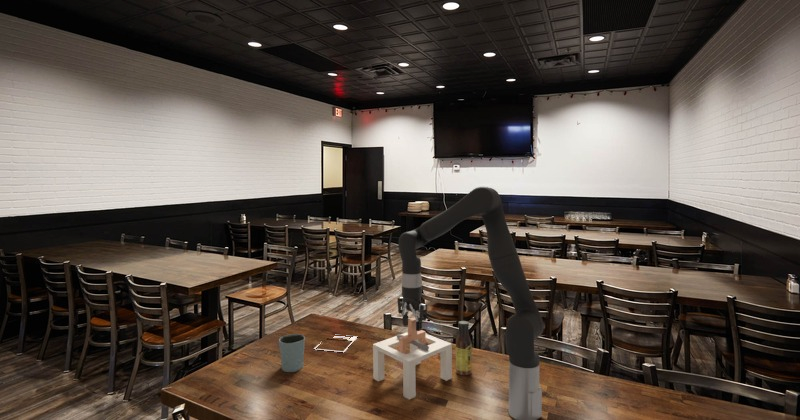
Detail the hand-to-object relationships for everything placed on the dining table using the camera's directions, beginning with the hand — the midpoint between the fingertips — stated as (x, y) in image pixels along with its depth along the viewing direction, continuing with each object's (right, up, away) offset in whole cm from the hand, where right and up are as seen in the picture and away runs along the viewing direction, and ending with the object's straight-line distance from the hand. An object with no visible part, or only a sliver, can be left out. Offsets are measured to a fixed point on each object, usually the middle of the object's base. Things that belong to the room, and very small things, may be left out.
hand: (412, 327), depth 151 cm
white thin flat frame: (-34, -18, +35) cm, 52 cm away
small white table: (0, -20, +1) cm, 20 cm away
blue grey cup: (-48, -20, +12) cm, 53 cm away
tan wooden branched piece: (0, -13, +1) cm, 14 cm away
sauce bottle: (+20, -19, +6) cm, 29 cm away
